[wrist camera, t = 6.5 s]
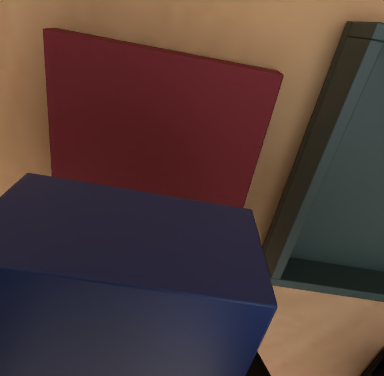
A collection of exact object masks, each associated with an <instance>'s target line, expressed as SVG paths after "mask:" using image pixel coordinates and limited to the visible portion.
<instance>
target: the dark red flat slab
mask: <svg viewBox="0 0 384 376" xmlns="http://www.w3.org/2000/svg"><path fill="white" fill-rule="evenodd" d="M43 38H44V55H45V71H46V87H47V103H48V120H49V136H50V152H51V168H52V177H57V178H63V179H69V180H75V181H81V182H87V183H93V184H99V185H105V186H112V187H118V188H124V189H130V190H136V191H142V192H148V193H154V194H160V195H166V196H172V197H179V198H185V199H191V200H197V201H203V202H209V203H215V204H221V205H227V206H233V207H239V208H243V206H244V203H245V200H246V197H247V193H248V190H249V187H250V184H251V180H252V177H253V174H254V171H255V167H256V164H257V161H258V158H259V154H260V151H261V148H262V145H263V141H264V138H265V135H266V131H267V128H268V125H269V122H270V118H271V115H272V112H273V109H274V105H275V102H276V99H277V96H278V92H279V89H280V86H281V83H282V79H283V74H282V73H280V72H279V71H276V70H271V69H266V68H261V67H256V66H250V65H245V64H240V63H235V62H230V61H224V60H219V59H214V58H209V57H204V56H198V55H193V54H188V53H183V52H178V51H172V50H167V49H162V48H157V47H152V46H146V45H141V44H136V43H131V42H126V41H120V40H115V39H110V38H105V37H100V36H94V35H89V34H84V33H79V32H74V31H68V30H63V29H58V28H45V29H43Z"/></svg>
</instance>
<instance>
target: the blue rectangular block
mask: <svg viewBox="0 0 384 376" xmlns="http://www.w3.org/2000/svg"><path fill="white" fill-rule="evenodd" d="M276 310H277V302H276V298H275V295H274V291H273V287H272V283H271V280H270V276H269V272H268V268H267V265H266V261H265V257H264V253H263V249H262V246H261V242H260V238H259V234H258V231H257V227H256V223H255V219H254V216H253V212H252V210H251V209H245V208H239V207H233V206H227V205H221V204H215V203H209V202H203V201H197V200H191V199H185V198H179V197H172V196H166V195H160V194H154V193H148V192H142V191H136V190H130V189H124V188H118V187H112V186H105V185H99V184H93V183H87V182H81V181H75V180H69V179H63V178H57V177H51V176H45V175H39V174H32V173H27V174H26V175H24V176H23V177H22V178H21V179H20V180H19V181H18V182H17V183H15V184H14V185H13V186H12V187H11V188H10V189H9V190H8V191H6V192H5V193H4V194H3V195H2V196H1V197H0V376H246V374H247V372H248V369H249V367H250V365H251V363H252V361H253V359H254V357H255V354H256V352H257V350H258V348H259V346H260V344H261V342H262V339H263V337H264V335H265V333H266V331H267V329H268V327H269V324H270V322H271V320H272V318H273V316H274V314H275V312H276Z"/></svg>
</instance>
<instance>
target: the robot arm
mask: <svg viewBox="0 0 384 376" xmlns="http://www.w3.org/2000/svg"><path fill="white" fill-rule="evenodd" d="M246 376H271V375H270V373H269V371H268V370H267V368H266V366H265V364H264V362H263V361H262V359H261V357H260V355H259V354H258V352H256V354H255V357H254V359H253V361H252V363H251V365H250V367H249V369H248V372H247V374H246ZM363 376H384V350H383V351H382V352H381V353H380V354H379V356H378V357H377V358H376V359H375V361H374V362H373V363H372V364H371V366H370V367H369V368H368V369H367V371H366V372H365V373H364V374H363Z"/></svg>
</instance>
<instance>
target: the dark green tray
mask: <svg viewBox="0 0 384 376" xmlns="http://www.w3.org/2000/svg"><path fill="white" fill-rule="evenodd" d="M262 249H263V253H264V257H265V261H266V265H267V268H268V272H269V276H270V280H271V283H272V285H273V286H280V287H287V288H293V289H300V290H307V291H314V292H321V293H327V294H334V295H341V296H348V297H355V298H361V299H368V300H375V301H382V302H384V23H381V22H350V21H349V22H347V24H346V27H345V29H344V32H343V35H342V37H341V40H340V43H339V45H338V48H337V51H336V53H335V56H334V59H333V61H332V64H331V67H330V69H329V72H328V75H327V77H326V80H325V83H324V85H323V88H322V91H321V93H320V96H319V99H318V101H317V104H316V107H315V109H314V112H313V115H312V117H311V120H310V123H309V125H308V128H307V131H306V133H305V136H304V139H303V141H302V144H301V147H300V149H299V152H298V155H297V157H296V160H295V163H294V165H293V168H292V171H291V173H290V176H289V179H288V181H287V184H286V187H285V189H284V192H283V195H282V197H281V200H280V203H279V205H278V208H277V211H276V213H275V216H274V219H273V222H272V224H271V227H270V230H269V232H268V235H267V238H266V240H265V243H264V246H263V248H262Z"/></svg>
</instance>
